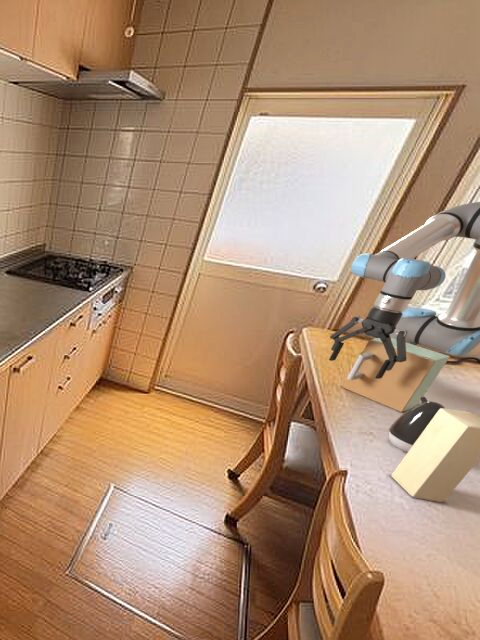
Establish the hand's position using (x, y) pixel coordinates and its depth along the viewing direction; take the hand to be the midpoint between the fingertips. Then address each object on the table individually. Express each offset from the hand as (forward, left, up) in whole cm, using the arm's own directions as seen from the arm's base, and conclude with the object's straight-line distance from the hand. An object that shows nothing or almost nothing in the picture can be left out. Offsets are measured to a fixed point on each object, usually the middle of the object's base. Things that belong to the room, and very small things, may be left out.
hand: (354, 368), depth 142 cm
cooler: (-13, +6, -10) cm, 18 cm away
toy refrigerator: (+38, +35, -10) cm, 53 cm away
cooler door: (-4, +6, -10) cm, 12 cm away
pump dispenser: (+18, +25, -10) cm, 32 cm away
